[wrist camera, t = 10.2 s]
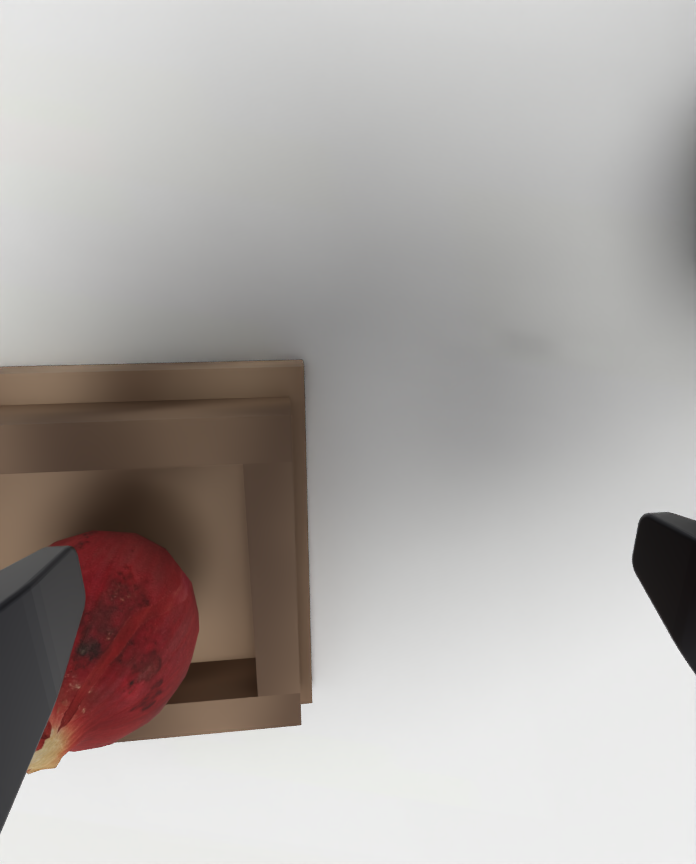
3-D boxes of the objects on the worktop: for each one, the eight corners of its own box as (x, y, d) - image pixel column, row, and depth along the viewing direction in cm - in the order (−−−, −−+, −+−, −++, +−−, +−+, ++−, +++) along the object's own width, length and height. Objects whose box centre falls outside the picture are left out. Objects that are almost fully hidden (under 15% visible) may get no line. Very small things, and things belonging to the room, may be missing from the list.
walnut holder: (302, 359, 20) (307, 382, 17) (310, 684, 24) (315, 744, 22) (-109, 369, 18) (-179, 395, 15) (-16, 712, 23) (-56, 780, 20)
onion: (88, 458, 19) (-34, 609, 12) (240, 537, 21) (220, 715, 13) (10, 589, 20) (-145, 803, 13) (160, 654, 22) (100, 877, 14)
